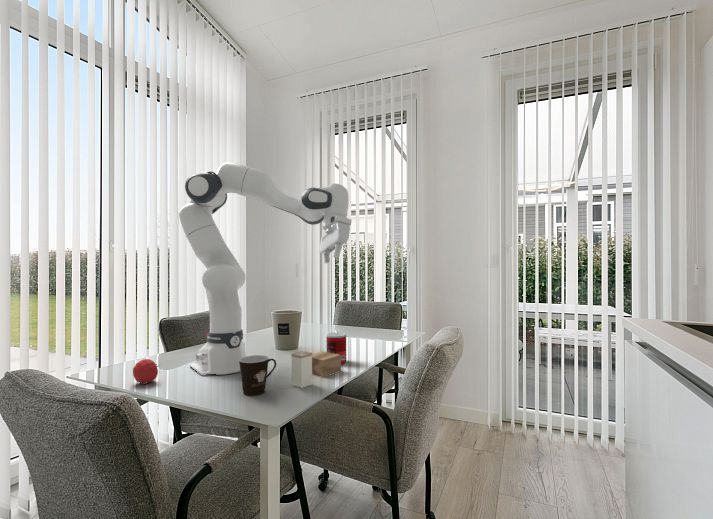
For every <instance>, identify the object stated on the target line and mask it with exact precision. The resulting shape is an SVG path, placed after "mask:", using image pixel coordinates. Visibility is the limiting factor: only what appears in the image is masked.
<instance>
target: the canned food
mask: <svg viewBox="0 0 713 519" xmlns="http://www.w3.org/2000/svg"><path fill="white" fill-rule="evenodd" d="M326 352H329V353H334V354H339V355H341V365H344V364H346V362H347V334H346V333H345V332H340V331H339V332H330V333H327V334H326Z"/></svg>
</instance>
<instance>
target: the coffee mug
mask: <svg viewBox="0 0 713 519" xmlns="http://www.w3.org/2000/svg"><path fill="white" fill-rule="evenodd" d="M271 361H273V363H274V365H273V367H272V369H271V371H269V373H268V370H269V369H268V367H269V363H270V362H271ZM239 364H240V371H239V373H240V377H241V378H240V379H241V386H242V387H241V388H242V393H243V395H244V396H245V397H257V396H260V395H263V394H264V393H265V392H266V386H267V379H268V378H269V377H270V375H271V374H273V373H274V370H275V369H276V367H277V360H276V359H275V358H269V356H267V355H263V354H262V355H259V354H256V355H255V354H254V355H246V357H243V358H241V359H239Z"/></svg>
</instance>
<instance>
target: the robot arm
mask: <svg viewBox="0 0 713 519" xmlns="http://www.w3.org/2000/svg"><path fill="white" fill-rule="evenodd" d="M184 190H185V193H186V194H187V197H188V198H189V199H190V200H191V201H189V203H187V204H184V205H183V206H182V207H181V208H180V210H179V212H178V216H179V221H180V224H181V227H182V230H183V232H184V234H185V236H186V238H187V241H188V242H189V244H190V246H191V248H192V251H193V252H194V255H195V256H196V257H197V259H198V260H199V261H200V262H201V263H202V264H203V265H204V267H205V268H206V270H205V271H204V272H203V274H202V278H201V279H202V285H203V287H204V289H205V293H206V300H207V303H208V308H209V310H208V311H209V332H208V333H207V334H206V341H207V342H205V344H203V346H202V347H200V348H199V349H198V350H197V352H196V356H195V359H196V362H193V363H190V364H189V367H190V366H191V367H192V368H194V369H195V370H196V371H198V372H199V373H201V374H203V375H202V376H205V375H204V374H216V375H221V376H222V375H229V374H234V373H235V374H236V373H240V364H239V359H241V358H243V357H247V354H246V353H247V352H246V344H245V342H243V340H244V330H243V328H242V326H243V324H242V323H243V322H242V315H243V314H242V306H241V303H240V298H239V292H238V291H239V290H240V289H241V288H242V286H244V284H245V282H246V272H245V271H244V270H243V268H242V267H241V264H240V263H239V262H238V260H237V258H236V257H235V255H234V254H233V252H232V251H231V250H230V248H229V247H228V245H227V244H226V241H225V240H224V238H223V236H222V234H221V232H220V230H219V228H218V226H217V225H216V222H215V220H214V218H213V214H215V213H216V212H217V211H218V210H219V209H221V208H222V207H224V205H225V204H226V203H227V200H228V194H237V195H240V196H243V197H246V198H249V199H252V200H255V201H259V202H261V203H263V204H266V205H269V206H271V207H273V208H275V209H278V210H282V211H284V212H286V213H290V214H291V215H294V216H296V217H298V218H299V219H301V220H302V221H303V222H304V223H306V224H308V225H313V226H314V225H315V226H316V225H319V224H320V223H322V222H323V223H322V230H324V231H325V232H324V233H323V234H322V235H321V238H320V243H319V250H318V251H319V254H322V255H323V263H324V264H329V263H330V255H331V253H332V252H333V258H335V259H338V258H340V256H341V255H340V253H341V251H342V247H343V246H344V245H345V244H346V243H348V241H349V238H350V230H351V229H350V228H351V225H352V222H353V221H352V219H350V218H348V216H347V213H348V210H349V192H348V189H347V188H346V186H344V185H342V184H340V183H330V184H329V185H327V186H322V187H309V188H307V189H305V190H304V191H303V192H302V193H301V197H300V198H301V199H298V198H295V197H294V196H290V195H288V194H286V193H284V192H282V191H281V190H280V189H279V188H278V187H277V186H276V185H275V183H274V181H273V180H272V178H271V177H270V175H268V174H267V173H265V172H264V171H262V170H260V169H258V168H254V167H252V166H248V165H245V164H244V165H243V164H239V163H233V162H224V163H222V164H220V166H219V167H218V169H217V170H216V172H215V171H212V170H211V171H205V172H196V173H194V174H191V175H190V176H189V177H188V178H187V179H186V181H185V184H184ZM192 368H191V369H192ZM195 370H194V371H195ZM196 371H195V372H196ZM198 372H197V373H198ZM199 373H198V374H199Z"/></svg>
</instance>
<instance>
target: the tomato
mask: <svg viewBox="0 0 713 519" xmlns="http://www.w3.org/2000/svg"><path fill="white" fill-rule="evenodd" d="M158 367H160V365H159V364H157V363H156V362H155V361H154V360H152V359H150V358H144V359H141V360H140V361H138V362H137V363H135V365H134V367H133V368H132V375H133V378H134V380H135V381H136V382H137V383H139V382H140V383H139V384H143V383H146V382H150V383H152V382H153V381H154V380H156V379H157V377H158V373H159V370H158ZM151 381H152V382H151ZM146 384H147V383H146Z"/></svg>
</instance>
